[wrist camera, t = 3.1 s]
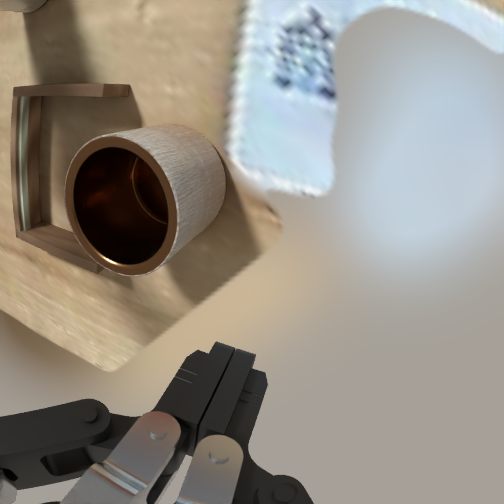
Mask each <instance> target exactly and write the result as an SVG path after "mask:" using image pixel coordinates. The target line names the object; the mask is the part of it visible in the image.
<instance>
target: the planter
mask: <svg viewBox="0 0 504 504" xmlns="http://www.w3.org/2000/svg"><path fill="white" fill-rule="evenodd" d="M225 191H226V177H225V171H224V167H223V164H222V161H221V159H220V157H219V155H218V153H217V151H216V150H215V148H214V147H213V145H212V144H211V143H210V142H209V141H208V140H207V139H206V138H205V137H204V136H203V135H201V134H200V133H198V132H197V131H195V130H193V129H191V128H188V127H185V126H181V125H175V124H163V125H156V126H150V127H144V128H139V129H134V130H128V131H122V132H117V133H111V134H106V135H102V136H99V137H96V138H94V139H92V140H90V141H88V142H87V143H86V144H84V145H83V146H82V147H81V148H80V149H79V150H78V152H77V153H76V154H75V156H74V158H73V159H72V161H71V163H70V166H69V168H68V171H67V175H66V180H65V189H64V197H65V207H66V212H67V216H68V220H69V223H70V225H71V228H72V230H73V232H74V234H75V236H76V238H77V240H78V241H79V243H80V244H81V246H82V247H83V249H84V250H85V251H86V252H87V253H88V254H89V256H90V257H91V258H93V259H94V260H95V261H96V262H97V263H98V264H100V265H101V266H103V267H104V268H106V269H108V270H109V271H112V272H114V273H117V274H120V275H124V276H134V277H135V276H143V275H147V274H149V273H152V272H154V271H155V270H157V269H158V268H160V267H161V266H162V265H163V264H165V263H166V262H167V261H168V260H169V259H170V258H171V257H172V256H173V255H175V254H176V253H177V252H178V251H179V250H180V249H181V248H183V247H184V246H185V245H186V244H187V243H188V242H190V241H191V240H192V239H193V238H195V237H196V236H197V235H198V234H199V233H200V232H202V231H203V230H204V229H205V228H206V227H207V226H209V225H210V224H211V222H212V221H213V220H214V219H215V217H216V216H217V214H218V213H219V211H220V209H221V206H222V204H223V201H224V197H225Z"/></svg>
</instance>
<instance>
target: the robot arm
mask: <svg viewBox="0 0 504 504" xmlns="http://www.w3.org/2000/svg"><path fill="white" fill-rule="evenodd" d="M46 1H47V0H0V11H14V12H25V13H30V12H33V11H36V10H37V9H39V8H40V7H41V6H42V5H43V4H44V3H45V2H46ZM255 357H256V354H253V353H249V352H246V351H243V350H240V349H236V351H235V348H234V347H231V346H228V345H225V344H222V343H219V342H215V344H214V345H213V347H212V349H211V351H210V353H209V354H208V353H205V352H202V351H200V350H197V351H195V352H194V353H192V354H191V355H189V356H188V357H186V359H185V361H184V362H183V364H182V366H181V367H180V369H179V370H178V372H177V373H176V375H175V377H174V378H173V380H172V381H171V383H170V384H169V386H168V387H167V389H166V391H165V392H164V394H163V395H162V397H161V399H160V400H159V402H158V403H157V405H156V407H155V408H154V409H153V410H152V411H151V412H148V413H145V414H143V415H142V416H138V417H129V416H122V415H118V414H112V413H110V412H109V410H108V408H107V407H106V406H105V405H104V404H103V403H101V402H100V401H97V400H94V399H82V400H78V401H74V402H70V403H66V404H62V405H57V406H53V407H48V408H44V409H39V410H34V411H29V412H24V413H19V414H14V415H8V416H3V417H0V504H12V503H13V502H14V501H15V499H16V495H17V490H21V489H27V488H33V487H38V486H43V485H48V484H53V483H58V482H62V481H66V480H70V479H75V478H79V477H81V478H80V479H79V480H78V482H77V483H76V484H75V485H74V487H73V488H72V489H71V490H70V491H69V493H68V494H67V495H66V496H65V497H64V499H63V500H62V501H61V502H57V501H56V502H47V503H42V504H158V502H159V501H160V499H161V498H162V496H163V494H164V493H165V491H166V490H167V488H168V487H169V485H170V483H171V482H172V480H173V479H174V477H175V475H176V474H177V472H178V470H179V467H180V465H181V463H182V461H183V459H184V457H185V455H186V454H187V455H189V456H192V457H193V458H192V461H191V463H190V466H189V468H188V471H187V474H186V476H185V479H184V482H183V484H182V487H181V490H180V493H179V496H178V498H177V500H176V502H175V503H174V504H314V503H313V501H312V500H311V498H310V497H309V495H308V493H307V491H306V490H305V488H304V487H303V485H302V484H301V483H300V482H299V481H298V480H296V479H295V478H293V477H290V476H286V475H275V476H273V475H272V474H270V473H268V472H267V471H265V470H264V469H262V468H260V467H259V466H258V465H257V464H256V463H255V462H254V461H253V460H252V459H251V457H250V454H249V451H248V443H249V440H250V437H251V434H252V431H253V428H254V425H255V422H256V419H257V416H258V413H259V410H260V407H261V404H262V401H263V398H264V395H265V392H266V389H267V385H268V383H267V378H266V374H265V372H262V371H258V370H255V369H252V367H253V364H254V361H255Z"/></svg>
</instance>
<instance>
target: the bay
mask: <svg viewBox="0 0 504 504" xmlns="http://www.w3.org/2000/svg"><path fill="white" fill-rule="evenodd" d="M128 92H129V85H125V84H49V85H33V86H21V87H14V90H13V101H12V116H11V184H12V199H13V211H14V220H15V229H16V237H17V238H19V239H21V240H23V241H25V242H28V243H30V244H32V245H34V246H36V247H38V248H40V249H42V250H44V251H47V252H49V253H51V254H53V255H55V256H58V257H60V258H62V259H64V260H66V261H69V262H71V263H73V264H76V265H78V266H80V267H82V268H85V269H87V270H89V271H92V272H94V273H96V274H98V273H99V272H100V271H101V270H103V269H104V267H103V266H101V265H100V264H98V263H97V262H96V261H95V260H94V259H93V258H91V257H90V256H89V254H88V253H87V252H86V251H85V250H84V249H83V247H82V246H81V244H80V243H79V241H78V240H77V238H76V236H75V234H74V233H72V232H69V231H67V230H64V229H62V228H59V227H56V226H54V225H51V224H49V223H46V222H43V221H41V212H40V194H39V133H40V115H41V103H42V96H93V97H116V96H128Z"/></svg>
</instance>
